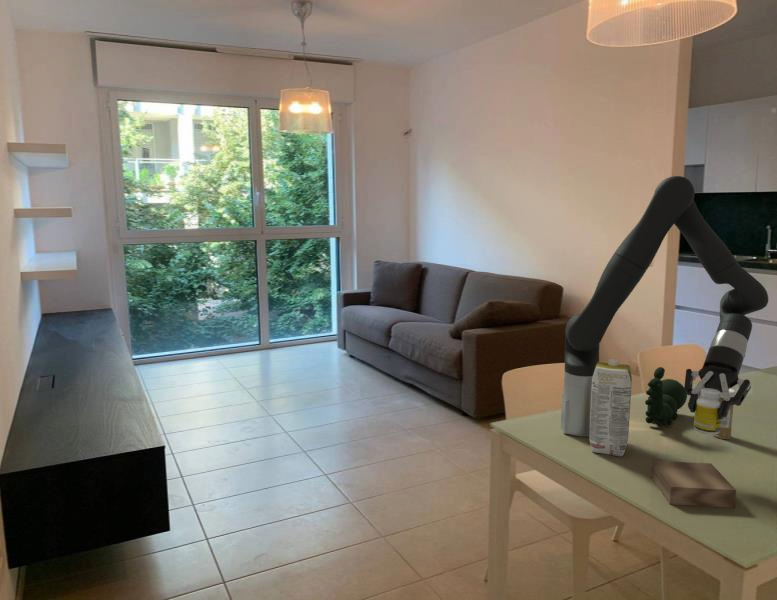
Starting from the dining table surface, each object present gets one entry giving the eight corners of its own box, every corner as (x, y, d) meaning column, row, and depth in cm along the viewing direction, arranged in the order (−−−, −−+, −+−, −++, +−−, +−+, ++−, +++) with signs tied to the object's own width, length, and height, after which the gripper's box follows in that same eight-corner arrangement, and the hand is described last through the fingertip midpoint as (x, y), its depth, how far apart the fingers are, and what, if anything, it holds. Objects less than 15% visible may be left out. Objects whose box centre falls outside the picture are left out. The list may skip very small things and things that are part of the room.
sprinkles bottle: (734, 437, 162) (738, 390, 160) (725, 441, 160) (729, 393, 157) (717, 432, 166) (721, 385, 164) (708, 435, 163) (712, 388, 161)
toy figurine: (669, 441, 164) (691, 408, 183) (672, 376, 160) (694, 350, 179) (634, 433, 170) (659, 402, 189) (636, 370, 166) (661, 346, 184)
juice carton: (628, 447, 156) (633, 359, 152) (626, 459, 149) (632, 366, 145) (590, 442, 160) (595, 355, 156) (587, 453, 153) (592, 363, 149)
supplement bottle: (719, 437, 134) (723, 395, 132) (692, 432, 137) (696, 391, 135) (720, 429, 139) (724, 389, 137) (694, 424, 141) (697, 385, 140)
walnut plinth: (669, 504, 126) (671, 486, 126) (651, 476, 139) (652, 460, 139) (734, 507, 125) (736, 490, 124) (709, 479, 137) (711, 463, 137)
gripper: (691, 339, 144) (669, 398, 138) (758, 350, 135) (738, 413, 128) (696, 356, 149) (676, 414, 143) (762, 367, 139) (743, 430, 133)
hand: (705, 413), depth 135 cm, fingers closed on supplement bottle, 5 cm apart
